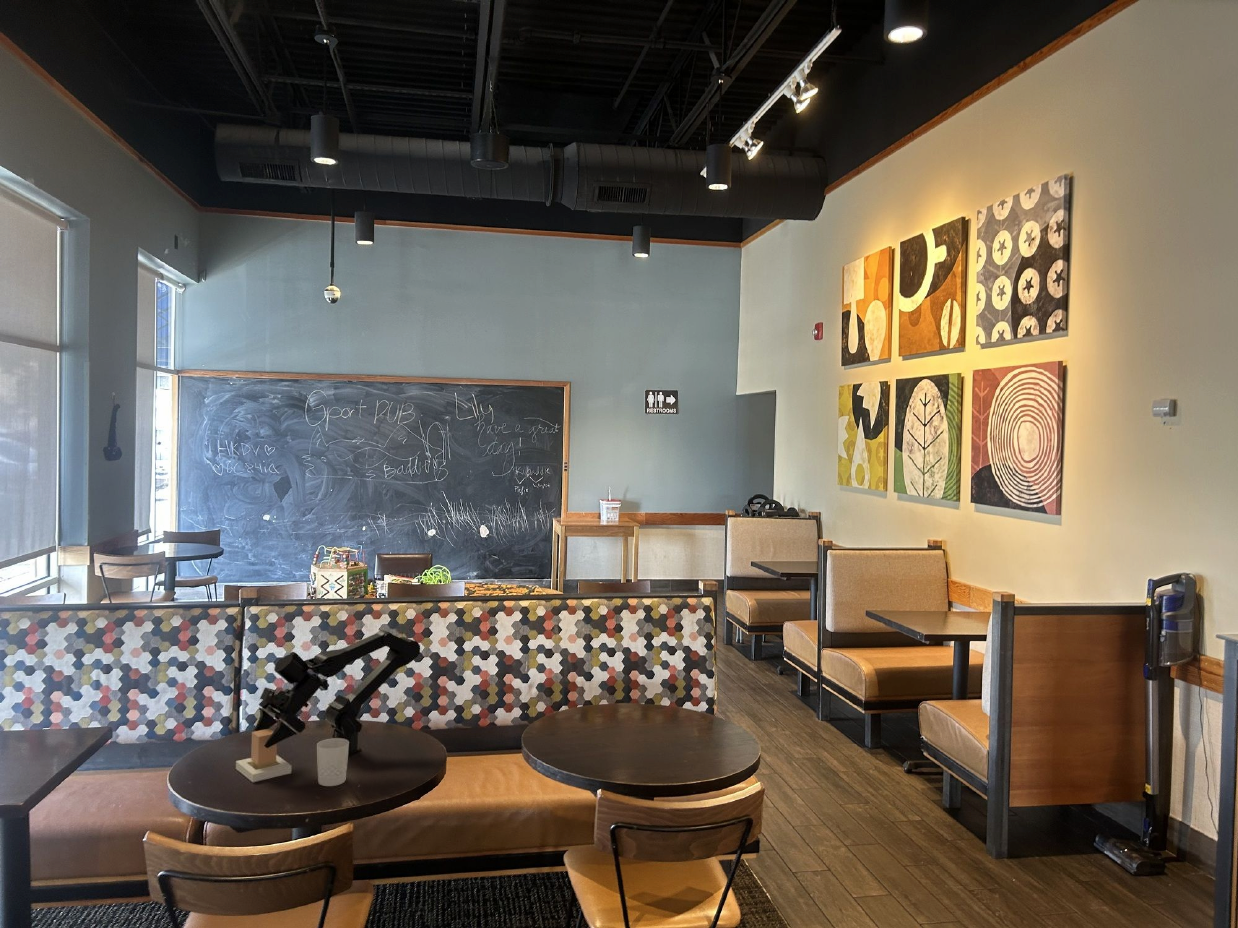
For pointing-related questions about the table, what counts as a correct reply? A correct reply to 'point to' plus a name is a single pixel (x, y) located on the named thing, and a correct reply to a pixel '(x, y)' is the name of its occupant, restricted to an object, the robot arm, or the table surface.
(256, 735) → the plug
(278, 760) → the socket
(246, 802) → the table surface
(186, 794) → the table surface
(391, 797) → the table surface
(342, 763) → the white cup
